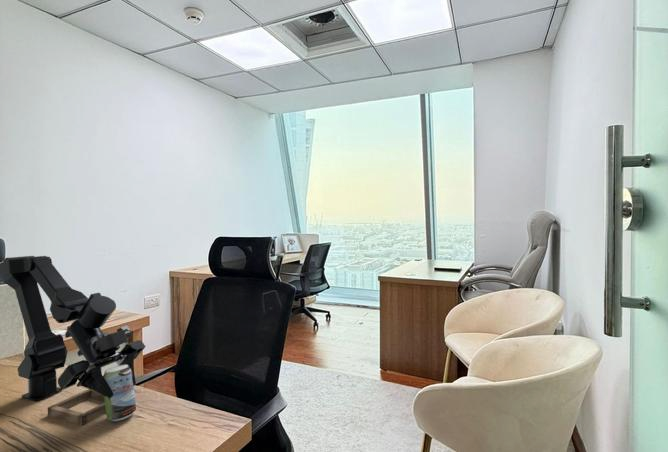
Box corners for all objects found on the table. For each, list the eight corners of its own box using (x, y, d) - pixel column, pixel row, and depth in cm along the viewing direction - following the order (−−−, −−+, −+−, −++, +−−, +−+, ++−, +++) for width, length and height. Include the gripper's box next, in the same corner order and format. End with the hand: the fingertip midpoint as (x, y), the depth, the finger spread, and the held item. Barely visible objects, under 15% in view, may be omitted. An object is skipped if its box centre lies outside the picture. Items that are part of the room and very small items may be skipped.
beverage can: (122, 426, 80) (121, 374, 80) (95, 422, 81) (94, 371, 81) (142, 411, 86) (142, 363, 86) (117, 408, 87) (116, 361, 87)
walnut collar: (47, 415, 84) (47, 407, 84) (92, 394, 95) (92, 387, 95) (81, 425, 80) (81, 416, 80) (124, 402, 90) (124, 394, 90)
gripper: (65, 329, 76) (102, 388, 72) (140, 309, 93) (172, 355, 90) (42, 361, 79) (76, 419, 75) (118, 335, 96) (149, 381, 93)
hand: (123, 390), depth 83 cm, fingers closed on beverage can, 5 cm apart
